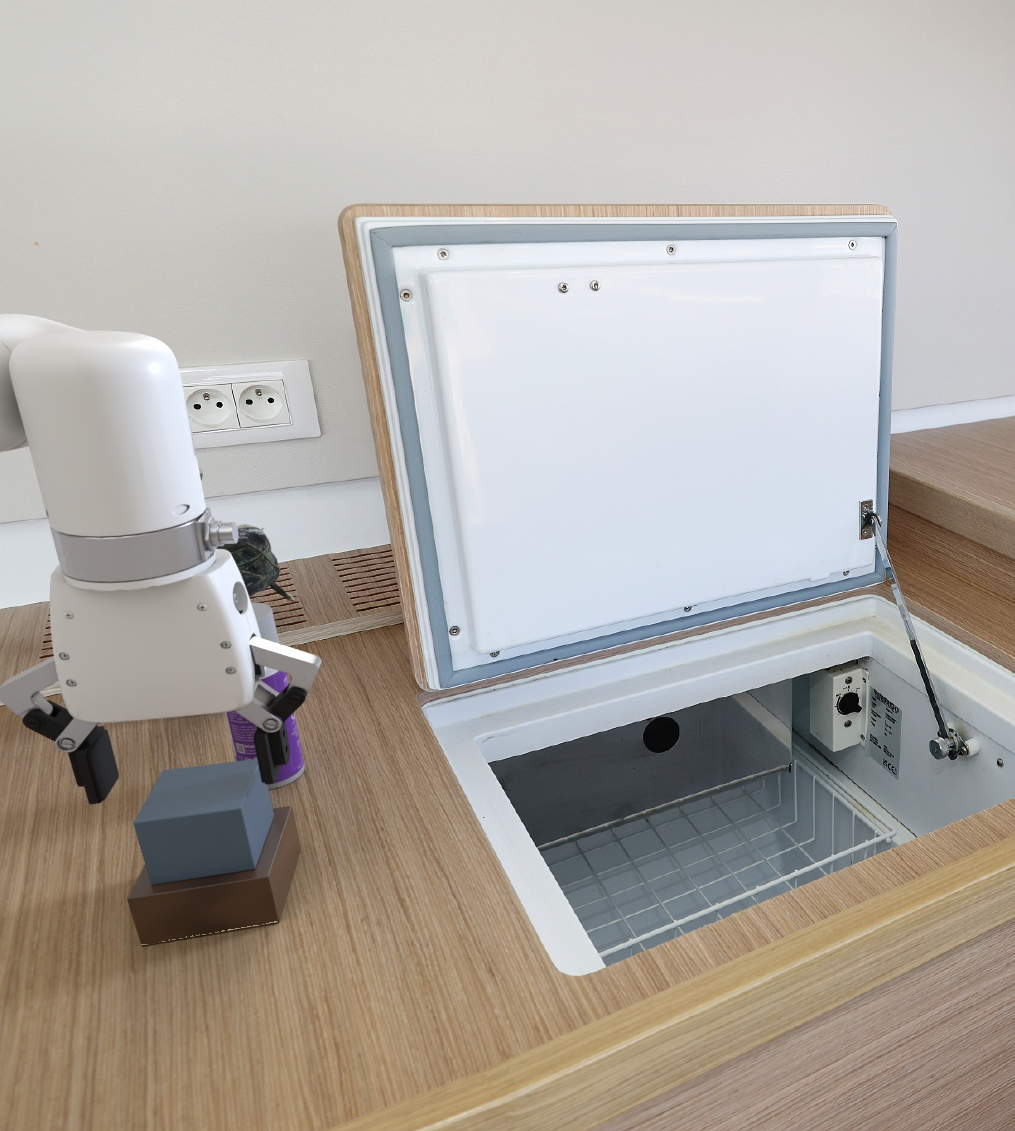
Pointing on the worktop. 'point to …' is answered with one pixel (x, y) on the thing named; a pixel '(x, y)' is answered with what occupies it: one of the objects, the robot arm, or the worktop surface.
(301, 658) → the robot arm
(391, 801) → the worktop surface
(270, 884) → the base block
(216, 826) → the top block
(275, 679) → the container
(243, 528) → the plant with pod
